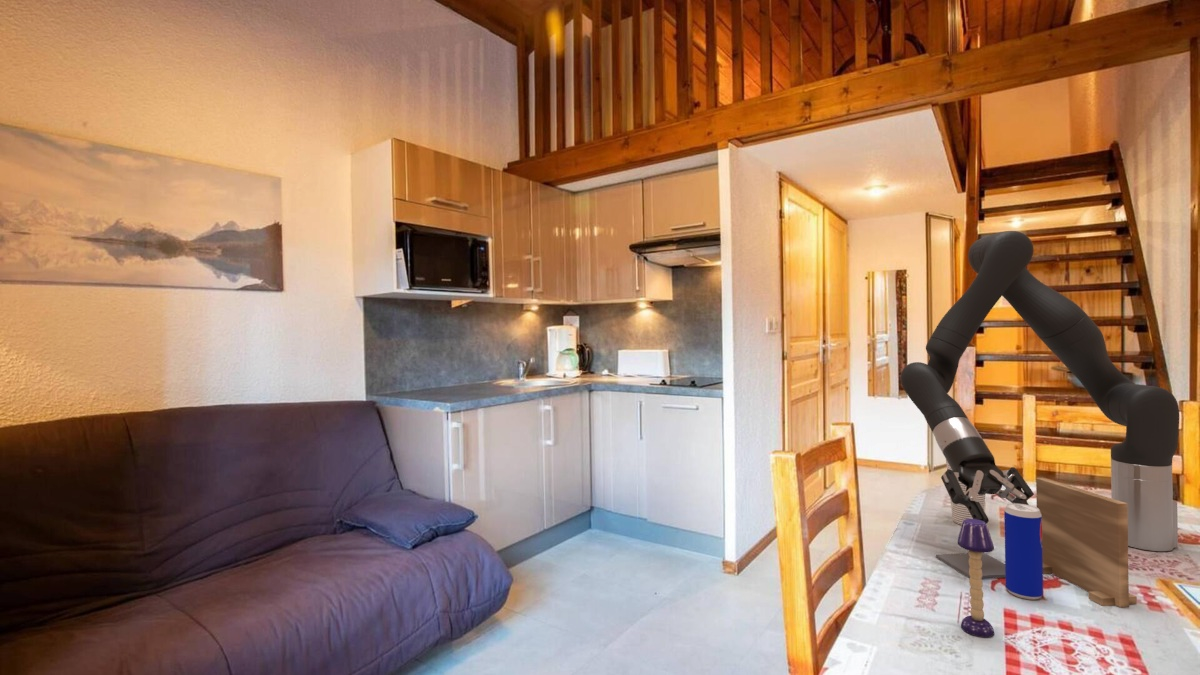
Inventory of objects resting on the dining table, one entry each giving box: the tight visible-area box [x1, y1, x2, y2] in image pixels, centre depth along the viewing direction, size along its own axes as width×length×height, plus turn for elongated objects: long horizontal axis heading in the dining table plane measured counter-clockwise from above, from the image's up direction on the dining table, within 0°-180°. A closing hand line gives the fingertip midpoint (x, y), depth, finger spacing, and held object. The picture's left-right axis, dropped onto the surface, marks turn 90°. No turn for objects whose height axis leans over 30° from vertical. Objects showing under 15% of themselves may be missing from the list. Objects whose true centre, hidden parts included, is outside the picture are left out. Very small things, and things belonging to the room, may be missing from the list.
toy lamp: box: [957, 519, 995, 638], centre depth 85 cm, size 5×5×17 cm
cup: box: [945, 459, 986, 526], centre depth 131 cm, size 8×8×16 cm
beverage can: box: [1003, 503, 1044, 601], centre depth 96 cm, size 5×5×15 cm
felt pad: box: [935, 552, 1005, 580], centre depth 107 cm, size 10×10×1 cm
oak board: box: [1035, 477, 1138, 608], centre depth 99 cm, size 6×16×17 cm, turn 3°
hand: (1007, 522), depth 99 cm, fingers open, 8 cm apart
